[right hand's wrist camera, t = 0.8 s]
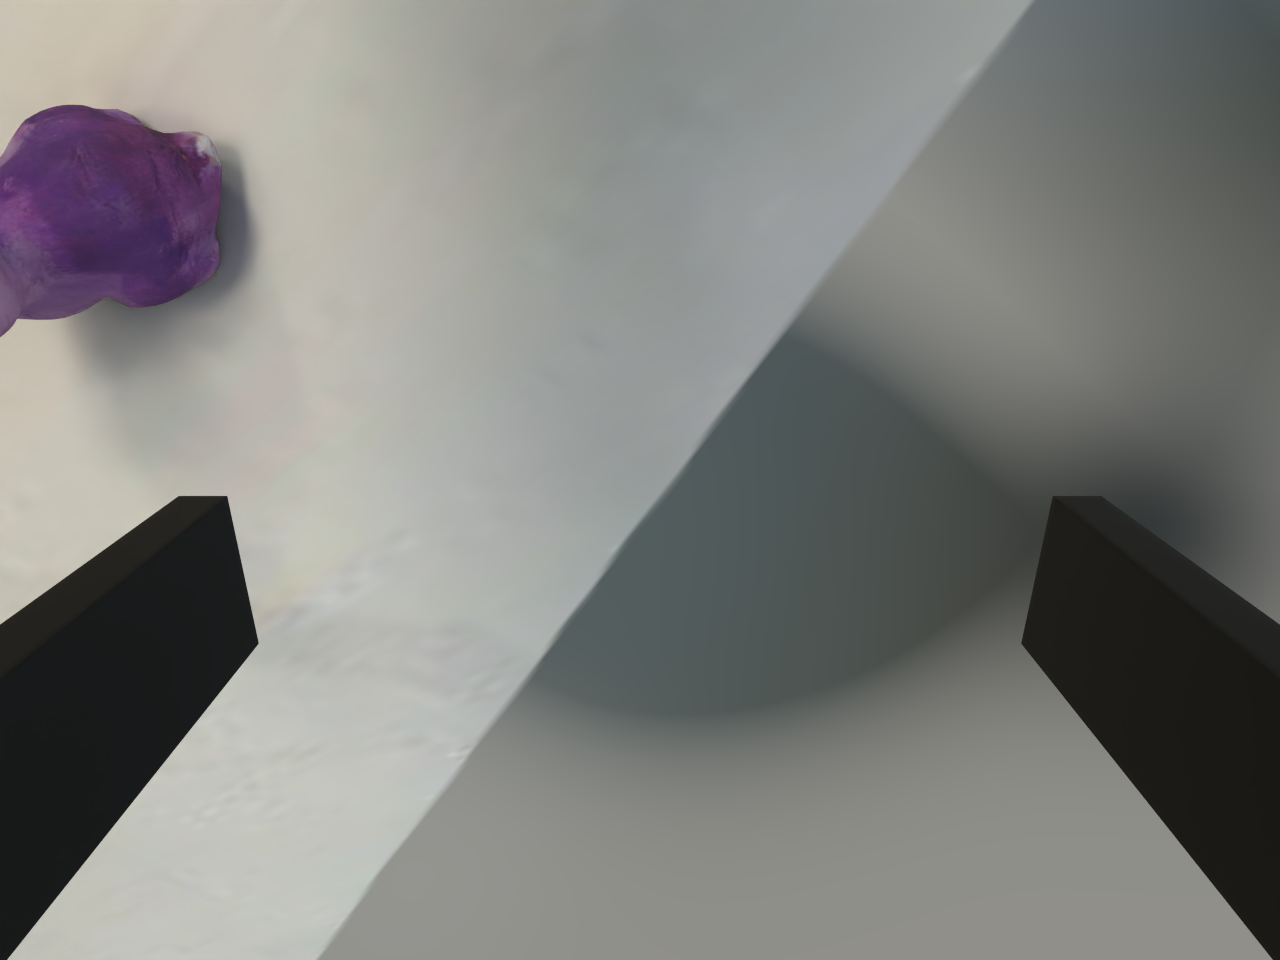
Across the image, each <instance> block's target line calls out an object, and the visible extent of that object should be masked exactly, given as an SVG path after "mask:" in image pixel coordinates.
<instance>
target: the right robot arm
mask: <svg viewBox="0 0 1280 960" xmlns="http://www.w3.org/2000/svg"><path fill="white" fill-rule="evenodd" d="M258 644H259V643H258V638H257V634H256V629H255V624H254V620H253V615H252V610H251V606H250V601H249V596H248V592H247V587H246V582H245V578H244V573H243V568H242V564H241V559H240V554H239V550H238V545H237V540H236V536H235V531H234V526H233V521H232V517H231V512H230V507H229V503H228V498H227V496H178V497H177V498H176V499H174V500H173V501H171V502H170V503H169V504H167V505H166V506H165V507H163V508H162V509H160V510H159V511H158V512H156V513H155V514H153V515H152V516H151V517H149V518H148V519H146V520H145V521H144V522H142V523H141V524H139V525H138V526H137V527H135V528H134V529H133V530H131V531H130V532H128V533H127V534H126V535H124V536H123V537H121V538H120V539H119V540H117V541H116V542H114V543H113V544H112V545H110V546H109V547H108V548H106V549H105V550H103V551H102V552H101V553H99V554H98V555H96V556H95V557H94V558H92V559H91V560H89V561H88V562H87V563H85V564H84V565H83V566H81V567H80V568H78V569H77V570H76V571H74V572H73V573H71V574H70V575H69V576H67V577H66V578H64V579H63V580H62V581H60V582H59V583H58V584H56V585H55V586H53V587H52V588H51V589H49V590H48V591H46V592H45V593H44V594H42V595H41V596H39V597H38V598H37V599H35V600H34V601H32V602H31V603H30V604H28V605H27V606H26V607H24V608H23V609H21V610H20V611H19V612H17V613H16V614H14V615H13V616H12V617H10V618H9V619H7V620H6V621H5V622H3V623H2V624H1V625H0V960H7V959H8V958H9V957H10V955H11V954H12V953H13V952H14V950H15V949H16V948H17V947H18V945H19V944H20V943H21V941H22V940H23V939H24V938H25V936H26V935H27V934H28V933H29V931H30V930H31V929H32V928H33V926H34V925H35V924H36V923H37V921H38V920H39V919H40V918H41V916H42V915H43V914H44V913H45V911H46V910H47V909H48V908H49V906H50V905H51V904H52V903H53V901H54V900H55V899H56V898H57V896H58V895H59V894H60V892H61V891H62V890H63V889H64V887H65V886H66V885H67V884H68V882H69V881H70V880H71V879H72V877H73V876H74V875H75V874H76V872H77V871H78V870H79V869H80V867H81V866H82V865H83V864H84V862H85V861H86V860H87V859H88V857H89V856H90V855H91V854H92V852H93V851H94V850H95V849H96V847H97V846H98V845H99V843H100V842H101V841H102V840H103V838H104V837H105V836H106V835H107V833H108V832H109V831H110V830H111V828H112V827H113V826H114V825H115V823H116V822H117V821H118V820H119V818H120V817H121V816H122V815H123V813H124V812H125V811H126V810H127V808H128V807H129V806H130V805H131V803H132V802H133V801H134V800H135V798H136V797H137V796H138V794H139V793H140V792H141V791H142V789H143V788H144V787H145V786H146V784H147V783H148V782H149V781H150V779H151V778H152V777H153V776H154V774H155V773H156V772H157V771H158V769H159V768H160V767H161V766H162V764H163V763H164V762H165V761H166V759H167V758H168V757H169V756H170V754H171V753H172V752H173V750H174V749H175V748H176V747H177V745H178V744H179V743H180V742H181V740H182V739H183V738H184V737H185V735H186V734H187V733H188V732H189V730H190V729H191V728H192V727H193V725H194V724H195V723H196V722H197V720H198V719H199V718H200V717H201V715H202V714H203V713H204V712H205V710H206V709H207V708H208V707H209V705H210V704H211V703H212V701H213V700H214V699H215V698H216V696H217V695H218V694H219V693H220V691H221V690H222V689H223V688H224V686H225V685H226V684H227V683H228V681H229V680H230V679H231V678H232V676H233V675H234V674H235V673H236V671H237V670H238V669H239V668H240V666H241V665H242V664H243V663H244V661H245V660H246V659H247V658H248V656H249V655H250V654H251V652H252V651H253V650H254V649H255V647H256V646H257V645H258ZM1022 645H1023V646H1024V647H1025V649H1026V650H1027V651H1028V652H1029V654H1030V655H1031V656H1032V657H1033V659H1034V660H1035V661H1036V663H1037V664H1038V665H1039V666H1040V668H1041V669H1042V670H1043V671H1044V673H1045V674H1046V675H1047V676H1048V678H1049V679H1050V680H1051V681H1052V683H1053V684H1054V685H1055V686H1056V688H1057V689H1058V690H1059V691H1060V693H1061V694H1062V695H1063V696H1064V698H1065V699H1066V700H1067V701H1068V703H1069V704H1070V705H1071V707H1072V708H1073V709H1074V710H1075V712H1076V713H1077V714H1078V715H1079V717H1080V718H1081V719H1082V720H1083V722H1084V723H1085V724H1086V725H1087V727H1088V728H1089V729H1090V730H1091V732H1092V733H1093V734H1094V735H1095V737H1096V738H1097V739H1098V740H1099V742H1100V743H1101V744H1102V745H1103V747H1104V748H1105V749H1106V750H1107V752H1108V753H1109V754H1110V756H1111V757H1112V758H1113V759H1114V761H1115V762H1116V763H1117V764H1118V766H1119V767H1120V768H1121V769H1122V771H1123V772H1124V773H1125V774H1126V776H1127V777H1128V778H1129V779H1130V781H1131V782H1132V783H1133V784H1134V786H1135V787H1136V788H1137V789H1138V791H1139V792H1140V793H1141V794H1142V796H1143V797H1144V798H1145V799H1146V801H1147V802H1148V803H1149V805H1150V806H1151V807H1152V808H1153V810H1154V811H1155V812H1156V813H1157V815H1158V816H1159V817H1160V818H1161V820H1162V821H1163V822H1164V823H1165V825H1166V826H1167V827H1168V828H1169V830H1170V831H1171V832H1172V833H1173V835H1174V836H1175V837H1176V838H1177V840H1178V841H1179V842H1180V843H1181V845H1182V846H1183V847H1184V848H1185V850H1186V851H1187V852H1188V853H1189V855H1190V856H1191V857H1192V859H1193V860H1194V861H1195V862H1196V864H1197V865H1198V866H1199V867H1200V869H1201V870H1202V871H1203V872H1204V874H1205V875H1206V876H1207V877H1208V879H1209V880H1210V881H1211V882H1212V884H1213V885H1214V886H1215V887H1216V889H1217V890H1218V891H1219V892H1220V894H1221V895H1222V896H1223V897H1224V899H1225V900H1226V901H1227V903H1228V904H1229V905H1230V906H1231V908H1232V909H1233V910H1234V911H1235V913H1236V914H1237V915H1238V916H1239V918H1240V919H1241V920H1242V921H1243V923H1244V924H1245V925H1246V926H1247V928H1248V929H1249V930H1250V931H1251V933H1252V934H1253V935H1254V936H1255V938H1256V939H1257V940H1258V941H1259V943H1260V944H1261V945H1262V947H1263V948H1264V949H1265V950H1266V951H1267V953H1268V954H1269V955H1270V957H1271V958H1272V959H1273V960H1280V625H1279V624H1278V623H1277V622H1275V621H1274V620H1273V619H1271V618H1270V617H1268V616H1267V615H1266V614H1264V613H1263V612H1261V611H1260V610H1259V609H1257V608H1256V607H1254V606H1253V605H1252V604H1250V603H1249V602H1248V601H1246V600H1245V599H1243V598H1242V597H1241V596H1239V595H1238V594H1236V593H1235V592H1234V591H1232V590H1231V589H1229V588H1228V587H1227V586H1225V585H1224V584H1222V583H1221V582H1220V581H1218V580H1217V579H1216V578H1214V577H1213V576H1211V575H1210V574H1209V573H1207V572H1206V571H1204V570H1203V569H1202V568H1200V567H1199V566H1197V565H1196V564H1195V563H1193V562H1192V561H1191V560H1189V559H1188V558H1186V557H1185V556H1184V555H1182V554H1181V553H1179V552H1178V551H1177V550H1175V549H1174V548H1172V547H1171V546H1170V545H1168V544H1167V543H1165V542H1164V541H1163V540H1161V539H1160V538H1159V537H1157V536H1156V535H1154V534H1153V533H1152V532H1150V531H1149V530H1147V529H1146V528H1145V527H1143V526H1142V525H1141V524H1139V523H1138V522H1136V521H1135V520H1134V519H1132V518H1131V517H1129V516H1128V515H1127V514H1125V513H1124V512H1122V511H1121V510H1120V509H1118V508H1117V507H1115V506H1114V505H1113V504H1111V503H1110V502H1109V501H1107V500H1106V499H1104V498H1103V497H1102V496H1053V498H1052V503H1051V508H1050V512H1049V517H1048V522H1047V526H1046V531H1045V536H1044V540H1043V545H1042V550H1041V554H1040V559H1039V564H1038V568H1037V573H1036V578H1035V582H1034V587H1033V592H1032V596H1031V601H1030V606H1029V610H1028V615H1027V620H1026V624H1025V629H1024V634H1023V638H1022Z"/></svg>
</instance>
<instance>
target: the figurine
mask: <svg viewBox="0 0 1280 960" xmlns="http://www.w3.org/2000/svg"><path fill="white" fill-rule="evenodd" d="M221 181H222V169H221V164H220V160H219V156H218V154H217V151H216V149H215V147H214V145H213V143H212V141H211V139H210V138H209V137H207V136H206V135H205V134H203V133H200V132H196V131H195V132H178V133H161V132H158V131H155V130H152V129H149V128H147V127H145V126H144V125H143V124H142V123H141V122H140V121H139V120H138V119H137V118H135V117H134V116H133V115H130V114H128V113H126V112H123V111H121V110H118V109H94V108H91V107H88V106H83V105H62V106H56V107H52V108H48V109H46V110H43V111H40V112H38V113H37V114H35V115H33V116H31V117H30V118H28V119H26V120H25V121H24V122H23V123H22V124H21V126H20V127H19V128H18V130H17V131H16V133H15V134H14V136H13V137H12V139H11V140H10V142H9V144H8V146H7V148H6V149H5V151H4V153H3V154H2V156H1V157H0V337H1V336H2V335H4V334H5V333H6V332H7V331H8V330H9V329H10V328H11V327H12V326H13V324H14V323H15V321H16V319H34V320H48V319H59V318H65V317H68V316H71V315H74V314H77V313H80V312H82V311H83V310H85V309H87V308H89V307H91V306H92V305H94V304H96V303H97V302H99V301H100V300H106V299H113V300H115V301H117V302H119V303H121V304H124V305H126V306H128V307H148V306H154V305H159V304H162V303H165V302H168V301H170V300H173V299H175V298H178V297H179V296H181V295H183V294H185V293H186V292H188V291H189V290H191V289H192V288H194V287H197V286H199V285H201V284H202V283H204V282H205V281H206V280H208V279H209V278H210V277H212V276H213V275H214V273H215V271H216V270H217V268H218V266H219V264H220V248H219V243H218V240H217V238H216V223H217V220H218V216H219V212H220V200H221Z"/></svg>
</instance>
